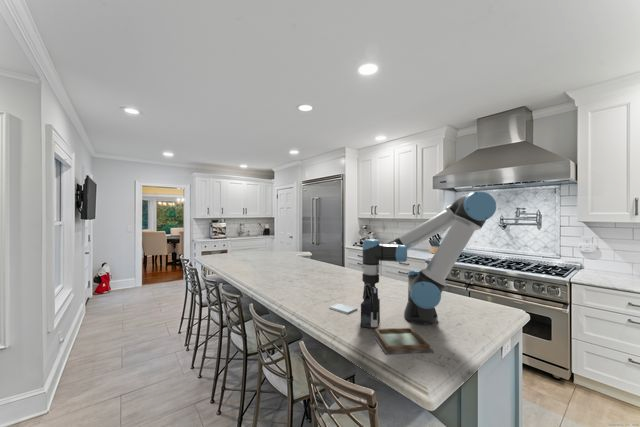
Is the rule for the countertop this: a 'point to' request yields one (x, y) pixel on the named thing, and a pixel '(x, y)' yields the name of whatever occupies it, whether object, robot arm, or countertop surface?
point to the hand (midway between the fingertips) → (370, 321)
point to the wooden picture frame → (400, 341)
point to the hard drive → (343, 308)
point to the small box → (367, 313)
